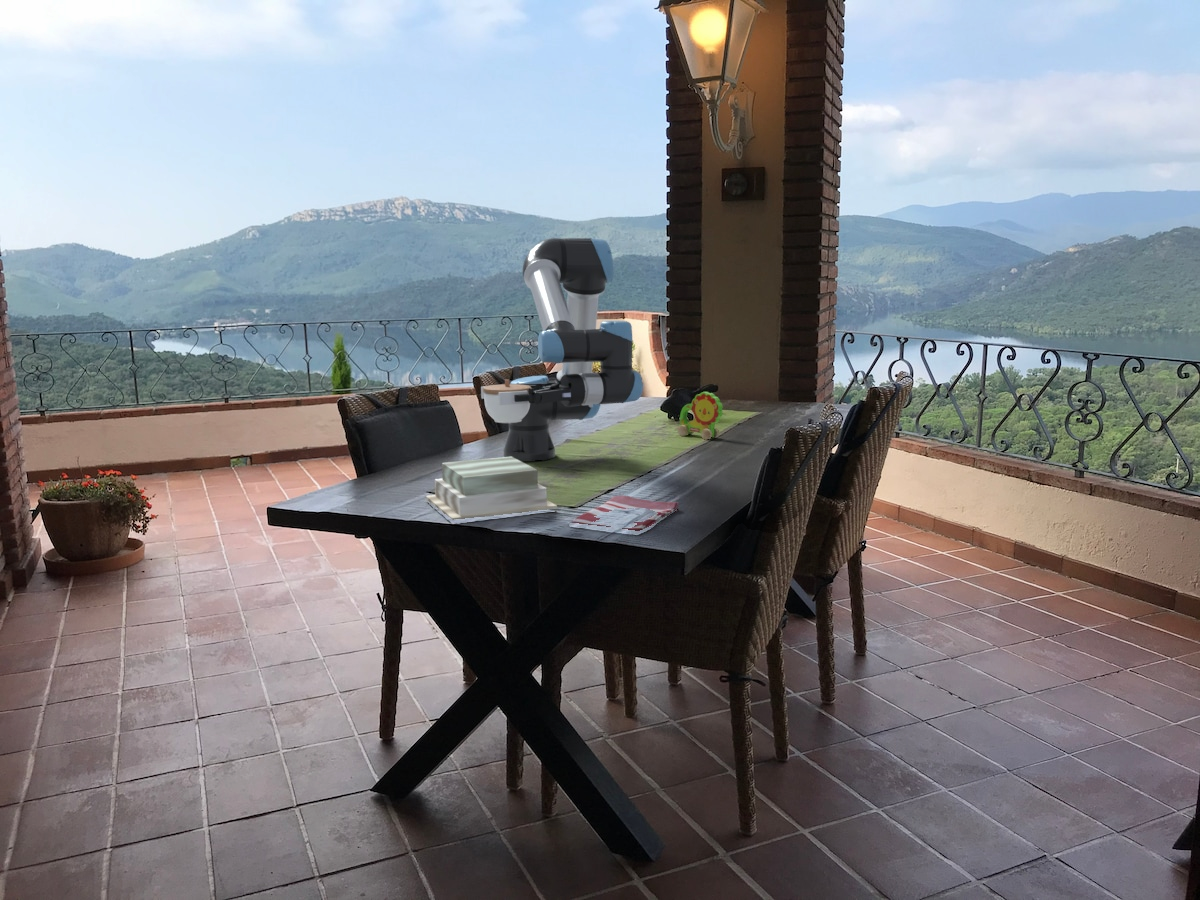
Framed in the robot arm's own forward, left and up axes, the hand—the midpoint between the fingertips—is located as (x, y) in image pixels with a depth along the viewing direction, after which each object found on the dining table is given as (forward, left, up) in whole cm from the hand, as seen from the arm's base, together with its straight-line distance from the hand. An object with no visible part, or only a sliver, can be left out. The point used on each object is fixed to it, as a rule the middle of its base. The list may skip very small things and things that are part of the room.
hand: (490, 395), depth 195 cm
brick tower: (-1, 0, -26) cm, 26 cm away
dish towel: (+21, +23, -27) cm, 41 cm away
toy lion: (-56, +91, -26) cm, 110 cm away
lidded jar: (0, +4, -6) cm, 7 cm away
